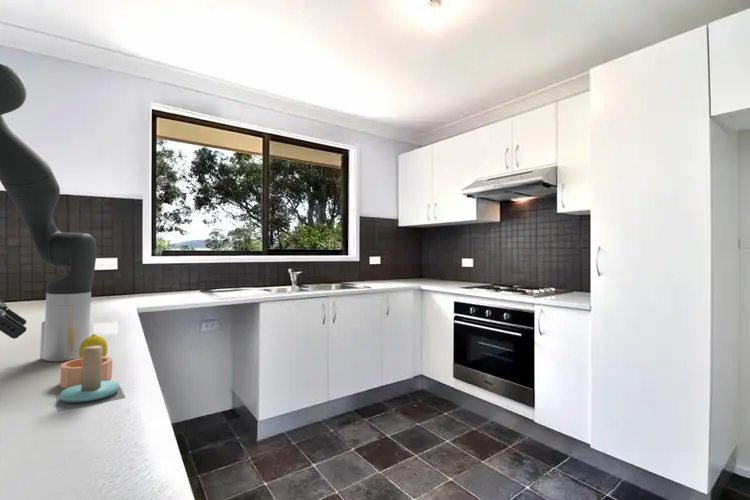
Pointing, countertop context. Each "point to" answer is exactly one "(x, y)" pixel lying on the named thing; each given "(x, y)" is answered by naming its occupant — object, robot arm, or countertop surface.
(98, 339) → the lemon
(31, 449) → the countertop surface
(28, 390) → the countertop surface
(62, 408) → the mat
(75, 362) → the bowl
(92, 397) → the lid
